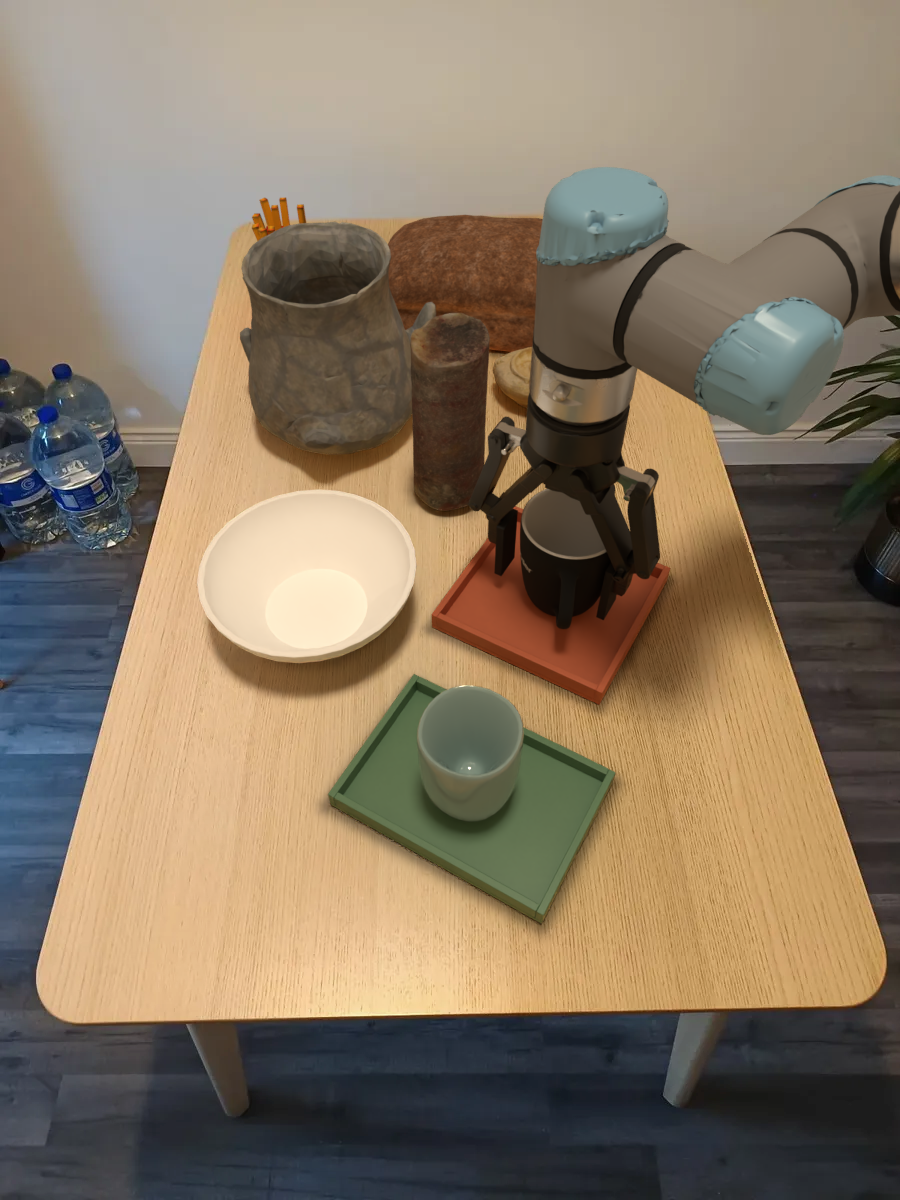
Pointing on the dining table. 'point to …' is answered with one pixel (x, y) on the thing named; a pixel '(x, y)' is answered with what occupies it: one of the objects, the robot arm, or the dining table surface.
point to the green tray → (485, 848)
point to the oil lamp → (514, 374)
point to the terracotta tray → (544, 624)
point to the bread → (469, 273)
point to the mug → (561, 556)
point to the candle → (449, 408)
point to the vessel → (327, 338)
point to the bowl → (307, 575)
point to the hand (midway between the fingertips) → (554, 586)
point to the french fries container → (274, 217)
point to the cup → (469, 751)
